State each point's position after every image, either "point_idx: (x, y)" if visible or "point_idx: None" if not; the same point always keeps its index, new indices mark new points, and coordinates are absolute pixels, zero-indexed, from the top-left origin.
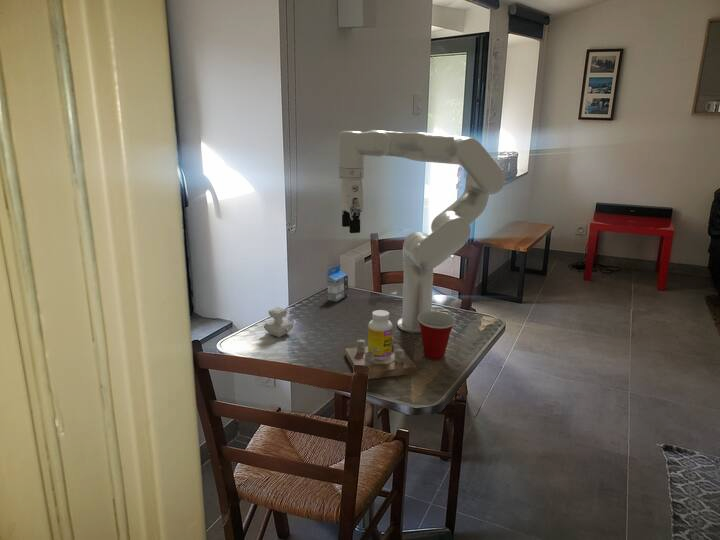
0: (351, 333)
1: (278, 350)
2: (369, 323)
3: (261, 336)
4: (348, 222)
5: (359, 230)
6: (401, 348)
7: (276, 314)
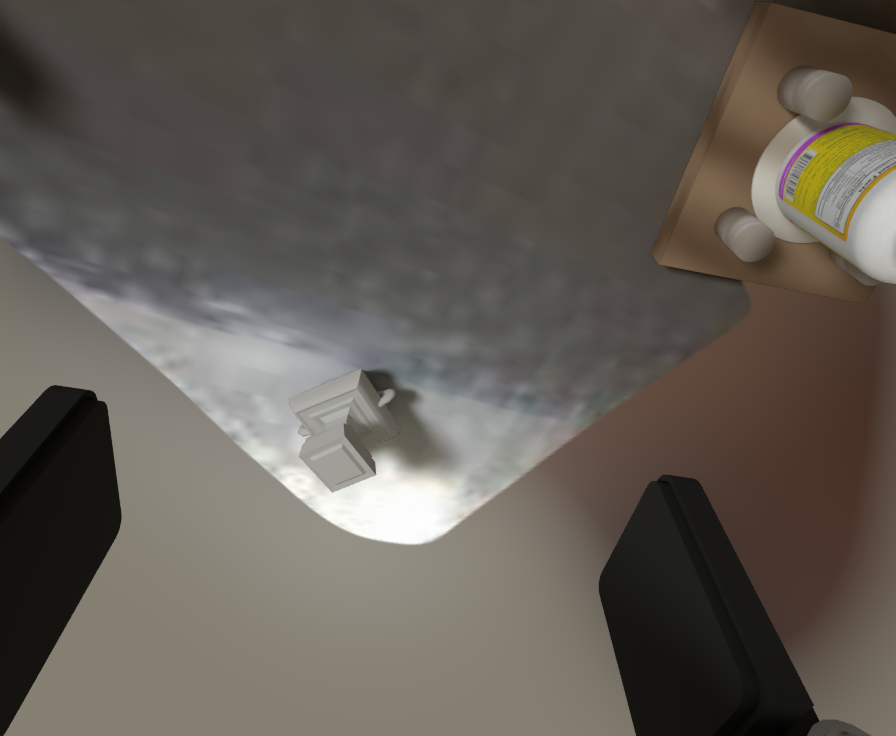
0: (462, 129)
1: (486, 431)
2: (886, 280)
3: None
4: (73, 507)
5: (704, 509)
6: (832, 20)
7: (371, 472)
